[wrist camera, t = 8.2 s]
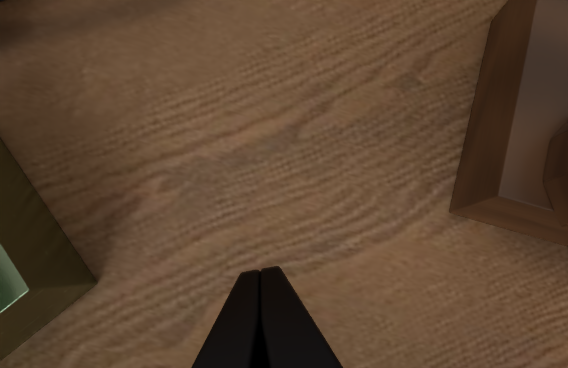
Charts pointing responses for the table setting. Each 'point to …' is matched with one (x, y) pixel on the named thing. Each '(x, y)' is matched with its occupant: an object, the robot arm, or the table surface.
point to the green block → (32, 260)
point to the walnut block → (520, 125)
